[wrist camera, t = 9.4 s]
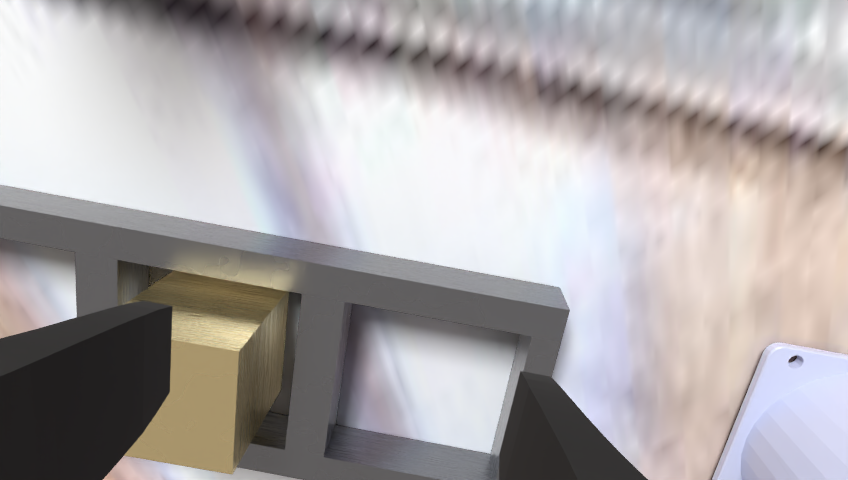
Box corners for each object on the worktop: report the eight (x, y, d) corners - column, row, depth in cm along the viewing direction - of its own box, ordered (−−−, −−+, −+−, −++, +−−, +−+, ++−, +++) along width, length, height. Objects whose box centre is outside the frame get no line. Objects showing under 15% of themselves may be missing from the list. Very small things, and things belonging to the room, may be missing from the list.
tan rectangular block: (290, 288, 21) (238, 351, 16) (281, 388, 22) (232, 474, 18) (175, 268, 21) (91, 326, 16) (174, 370, 22) (96, 450, 18)
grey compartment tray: (559, 287, 20) (569, 310, 18) (508, 482, 23) (512, 519, 21) (-84, 169, 21) (-140, 179, 19) (-60, 374, 23) (-107, 401, 21)
